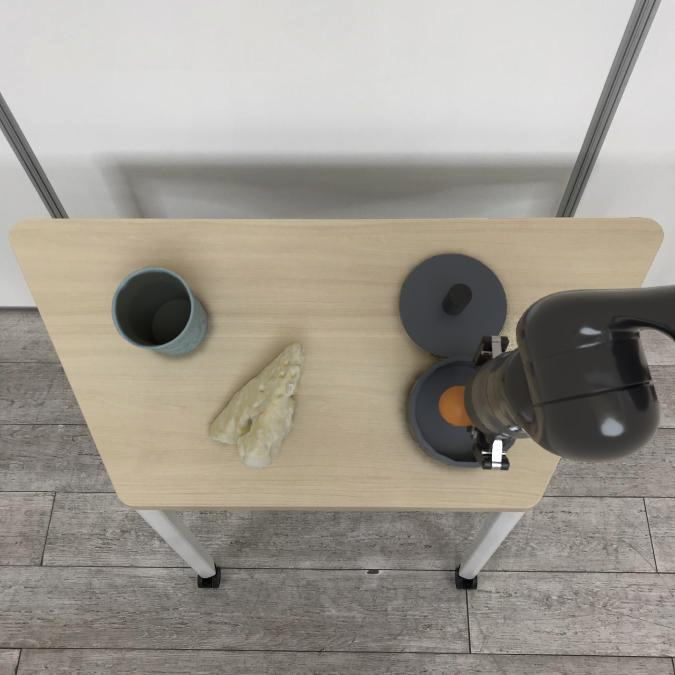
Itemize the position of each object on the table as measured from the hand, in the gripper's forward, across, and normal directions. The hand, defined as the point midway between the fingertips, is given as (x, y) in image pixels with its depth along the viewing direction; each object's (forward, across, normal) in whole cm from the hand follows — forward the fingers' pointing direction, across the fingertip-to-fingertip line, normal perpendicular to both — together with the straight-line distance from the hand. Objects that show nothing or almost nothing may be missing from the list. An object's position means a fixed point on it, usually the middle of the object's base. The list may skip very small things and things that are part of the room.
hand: (476, 407), depth 71 cm
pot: (+12, 0, 0) cm, 12 cm away
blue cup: (+13, +10, +39) cm, 42 cm away
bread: (0, 0, 0) cm, 0 cm away
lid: (+12, +15, +1) cm, 19 cm away
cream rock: (+13, 0, +26) cm, 29 cm away
